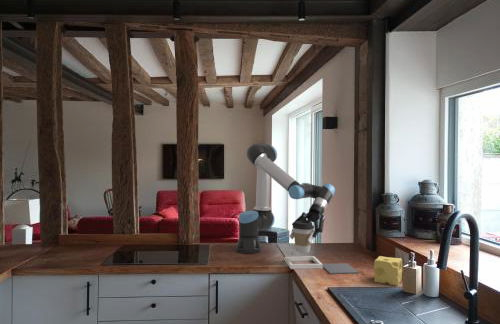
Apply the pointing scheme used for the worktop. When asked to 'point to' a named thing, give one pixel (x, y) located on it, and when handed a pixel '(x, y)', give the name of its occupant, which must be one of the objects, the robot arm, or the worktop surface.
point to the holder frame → (303, 266)
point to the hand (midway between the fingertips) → (299, 239)
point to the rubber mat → (339, 268)
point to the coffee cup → (302, 235)
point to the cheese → (388, 270)
